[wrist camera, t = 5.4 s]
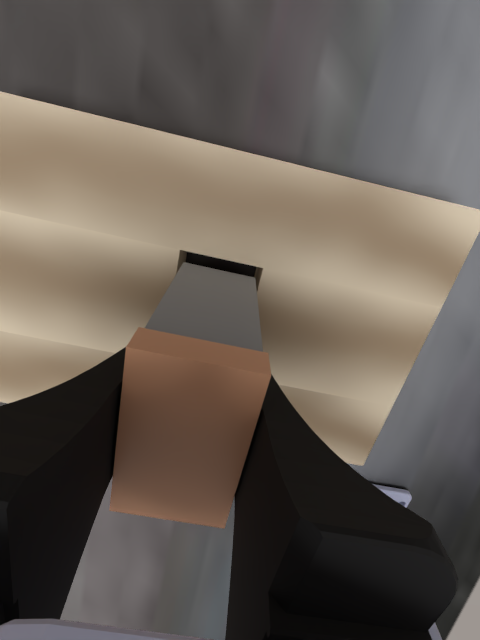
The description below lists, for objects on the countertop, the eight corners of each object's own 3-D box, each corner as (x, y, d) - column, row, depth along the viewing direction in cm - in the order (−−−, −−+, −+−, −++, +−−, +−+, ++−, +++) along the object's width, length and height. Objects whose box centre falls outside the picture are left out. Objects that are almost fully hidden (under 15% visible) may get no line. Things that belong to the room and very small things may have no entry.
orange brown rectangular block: (231, 379, 17) (224, 528, 10) (164, 366, 16) (109, 510, 10) (258, 275, 15) (271, 375, 8) (181, 259, 14) (126, 347, 8)
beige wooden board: (348, 428, 22) (363, 465, 20) (25, 369, 21) (-8, 400, 18) (448, 203, 17) (489, 211, 14) (16, 97, 15) (-34, 82, 12)
